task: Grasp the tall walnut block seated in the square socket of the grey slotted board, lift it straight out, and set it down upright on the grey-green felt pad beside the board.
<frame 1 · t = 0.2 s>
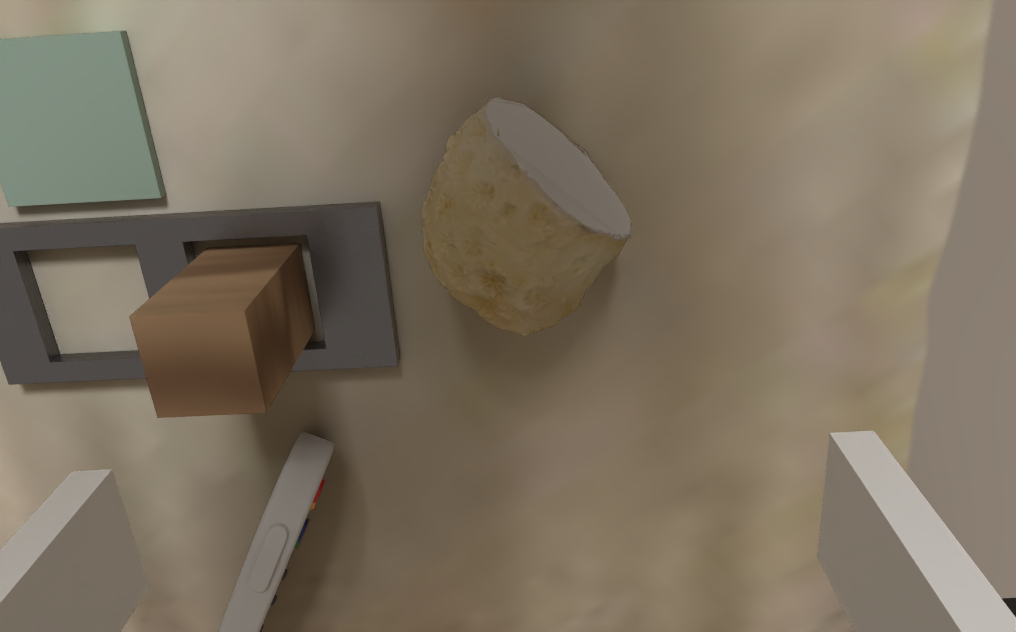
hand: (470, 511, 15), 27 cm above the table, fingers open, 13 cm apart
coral: (515, 192, 41), on the table
game controller: (281, 531, 50), on the table
grey slotted board: (189, 293, 43), on the table
felt pad: (68, 121, 39), on the table
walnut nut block: (262, 289, 43), resting in grey slotted board
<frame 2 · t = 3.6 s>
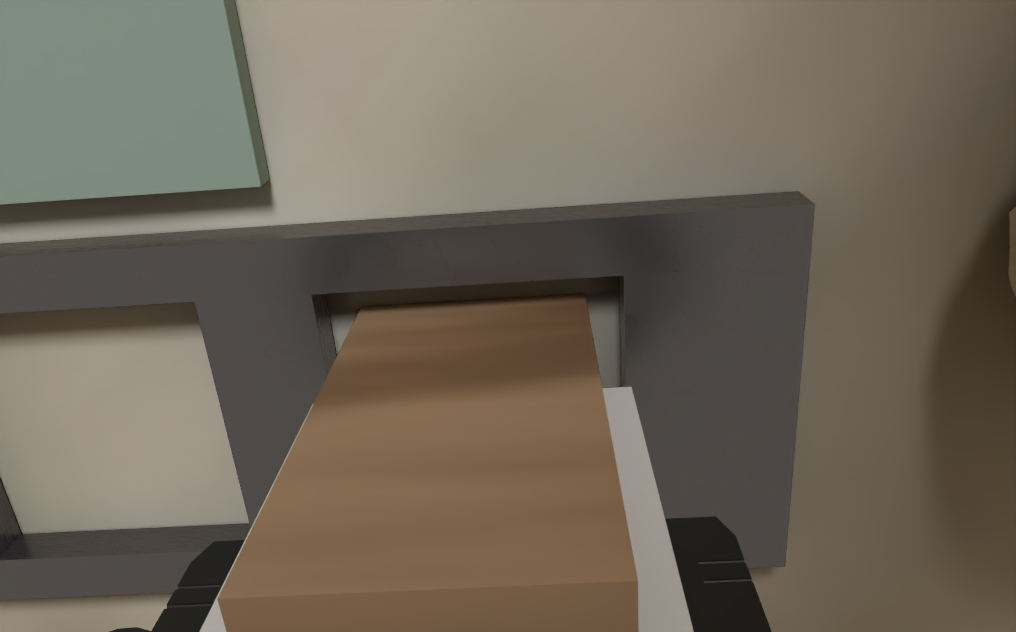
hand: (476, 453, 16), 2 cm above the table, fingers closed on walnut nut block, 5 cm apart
grey slotted board: (314, 407, 19), on the table
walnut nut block: (482, 398, 19), resting in grey slotted board, touching gripper
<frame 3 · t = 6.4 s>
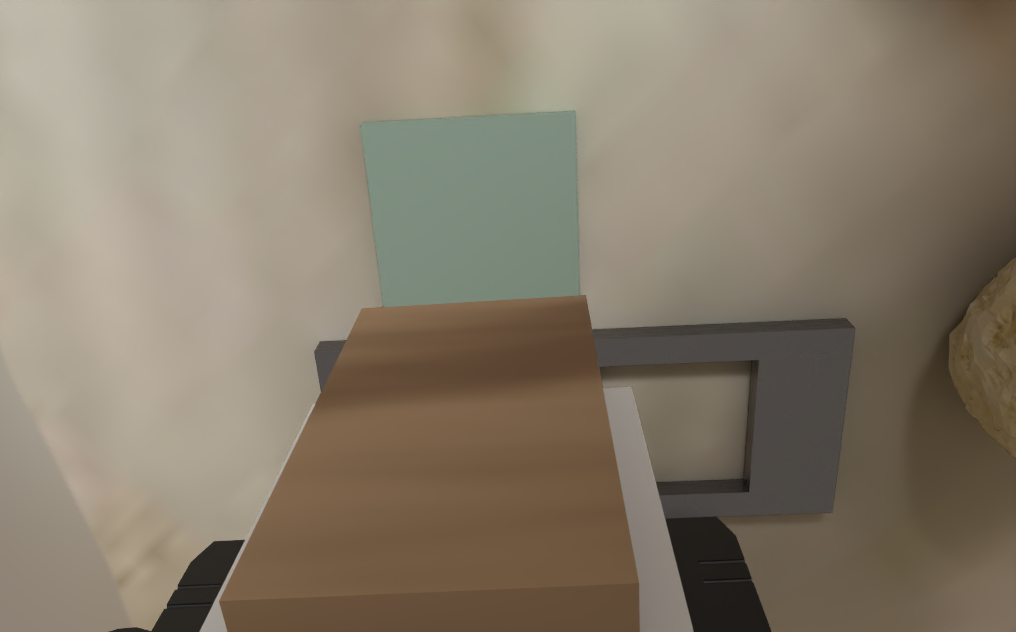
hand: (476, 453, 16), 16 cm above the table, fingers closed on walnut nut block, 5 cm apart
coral: (1015, 308, 33), on the table
grey slotted board: (581, 423, 35), on the table
felt pad: (476, 219, 31), on the table
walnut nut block: (482, 400, 19), point 14 cm above the table, touching gripper
when the fingers open (4 cm above the table, at t = 9.5 s): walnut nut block drops 1 cm, resting on felt pad.
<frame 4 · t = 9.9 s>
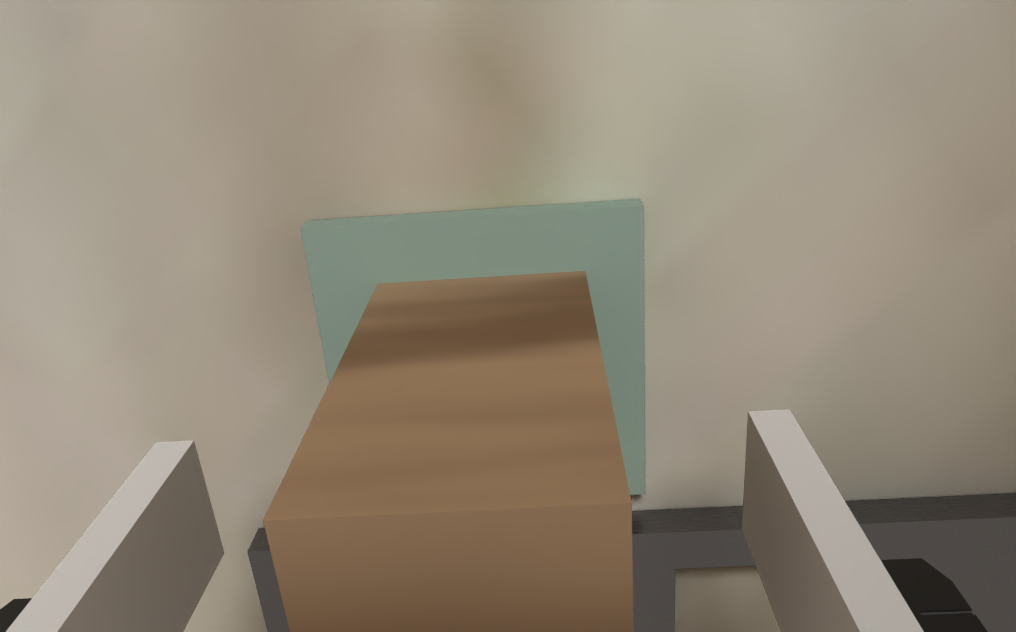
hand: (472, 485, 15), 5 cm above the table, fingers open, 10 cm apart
grey slotted board: (643, 631, 24), on the table
felt pad: (486, 359, 20), on the table
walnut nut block: (489, 370, 20), point 1 cm above the table, touching felt pad
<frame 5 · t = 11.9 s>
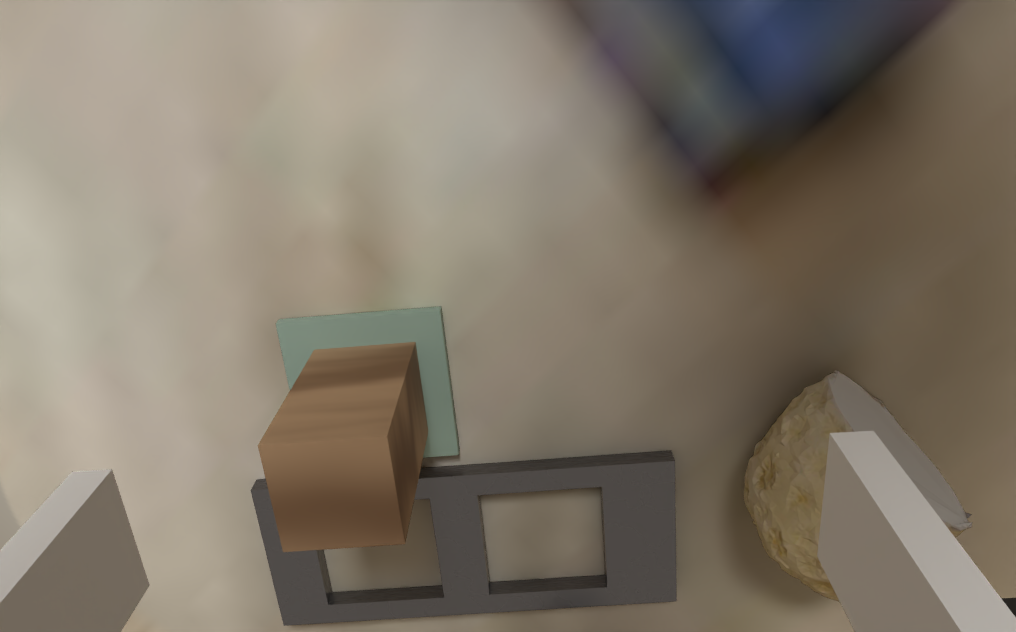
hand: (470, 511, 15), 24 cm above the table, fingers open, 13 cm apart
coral: (805, 438, 41), on the table
grey slotted board: (470, 535, 43), on the table
felt pad: (372, 386, 40), on the table
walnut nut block: (372, 391, 39), point 1 cm above the table, touching felt pad
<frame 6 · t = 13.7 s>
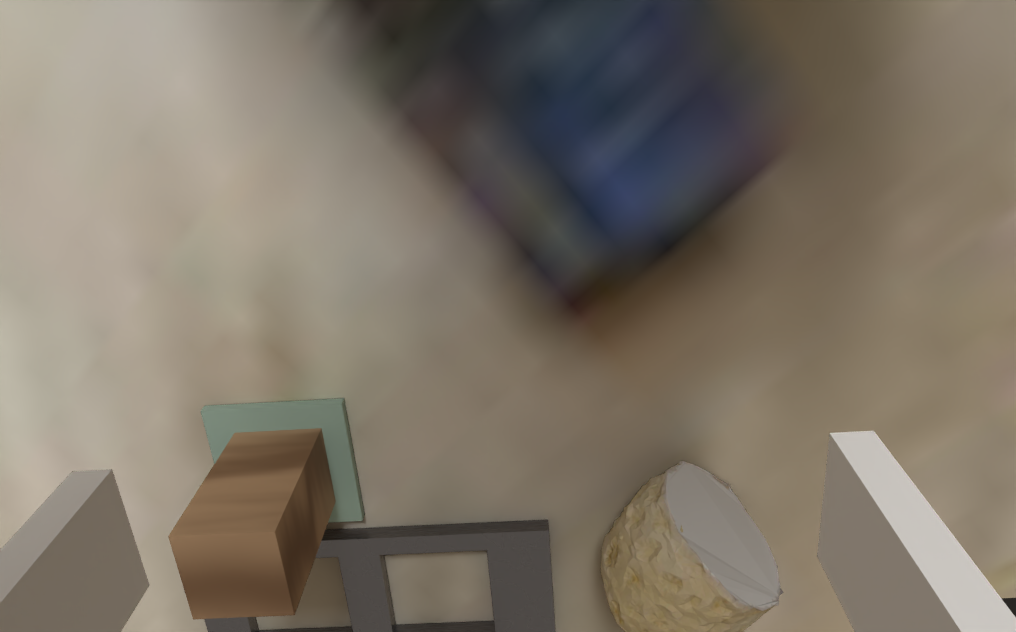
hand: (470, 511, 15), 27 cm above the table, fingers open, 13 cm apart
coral: (664, 511, 47), on the table
grey slotted board: (377, 585, 50), on the table
felt pad: (287, 461, 46), on the table
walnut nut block: (286, 467, 46), point 1 cm above the table, touching felt pad
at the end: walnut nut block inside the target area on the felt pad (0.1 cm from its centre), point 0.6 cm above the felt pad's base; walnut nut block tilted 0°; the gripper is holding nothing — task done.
